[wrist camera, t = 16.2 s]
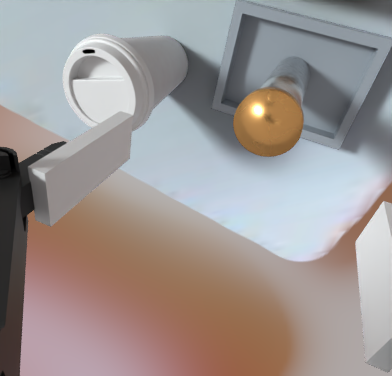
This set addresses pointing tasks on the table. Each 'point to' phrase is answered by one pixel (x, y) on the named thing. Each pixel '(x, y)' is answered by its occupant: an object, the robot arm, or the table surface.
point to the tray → (312, 54)
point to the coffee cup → (122, 76)
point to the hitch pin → (274, 110)
